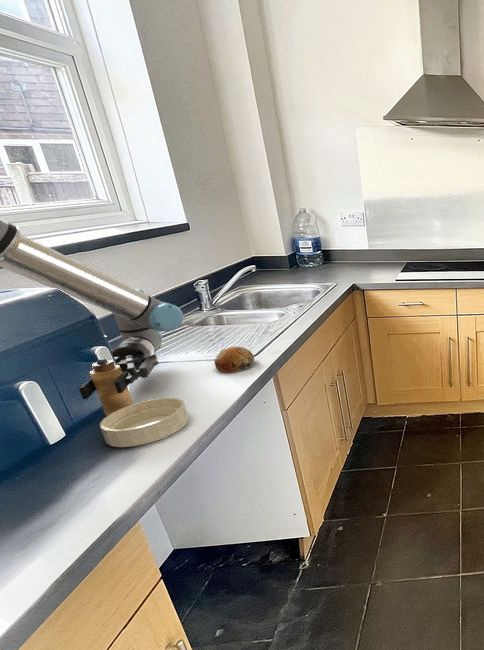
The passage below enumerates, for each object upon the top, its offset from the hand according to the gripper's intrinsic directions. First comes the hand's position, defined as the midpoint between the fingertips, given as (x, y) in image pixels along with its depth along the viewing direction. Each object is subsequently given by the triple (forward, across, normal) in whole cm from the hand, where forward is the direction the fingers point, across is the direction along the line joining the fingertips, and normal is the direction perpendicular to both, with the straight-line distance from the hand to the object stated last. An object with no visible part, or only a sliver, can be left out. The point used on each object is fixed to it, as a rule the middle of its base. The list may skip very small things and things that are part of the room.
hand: (101, 390), depth 92 cm
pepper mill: (-5, 0, +9) cm, 10 cm away
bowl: (+7, +8, +9) cm, 14 cm away
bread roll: (-25, +22, +9) cm, 35 cm away
